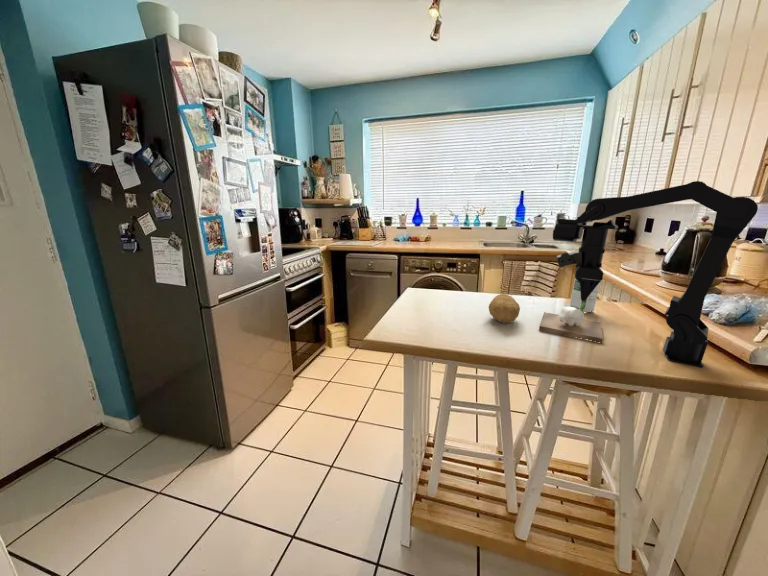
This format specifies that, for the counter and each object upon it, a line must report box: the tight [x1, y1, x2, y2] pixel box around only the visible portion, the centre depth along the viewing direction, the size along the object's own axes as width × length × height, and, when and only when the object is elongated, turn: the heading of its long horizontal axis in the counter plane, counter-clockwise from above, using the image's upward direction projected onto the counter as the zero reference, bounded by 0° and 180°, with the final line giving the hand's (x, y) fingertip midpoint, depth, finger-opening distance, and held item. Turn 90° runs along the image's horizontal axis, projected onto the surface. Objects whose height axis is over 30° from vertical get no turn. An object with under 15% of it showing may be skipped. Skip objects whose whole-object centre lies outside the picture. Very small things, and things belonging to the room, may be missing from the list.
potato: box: [488, 293, 521, 324], centre depth 100 cm, size 10×14×8 cm
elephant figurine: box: [558, 303, 586, 326], centre depth 94 cm, size 7×8×6 cm
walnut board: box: [538, 311, 604, 344], centre depth 95 cm, size 16×14×2 cm
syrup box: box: [569, 278, 601, 314], centre depth 109 cm, size 6×6×14 cm
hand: (582, 296), depth 92 cm, fingers open, 9 cm apart
